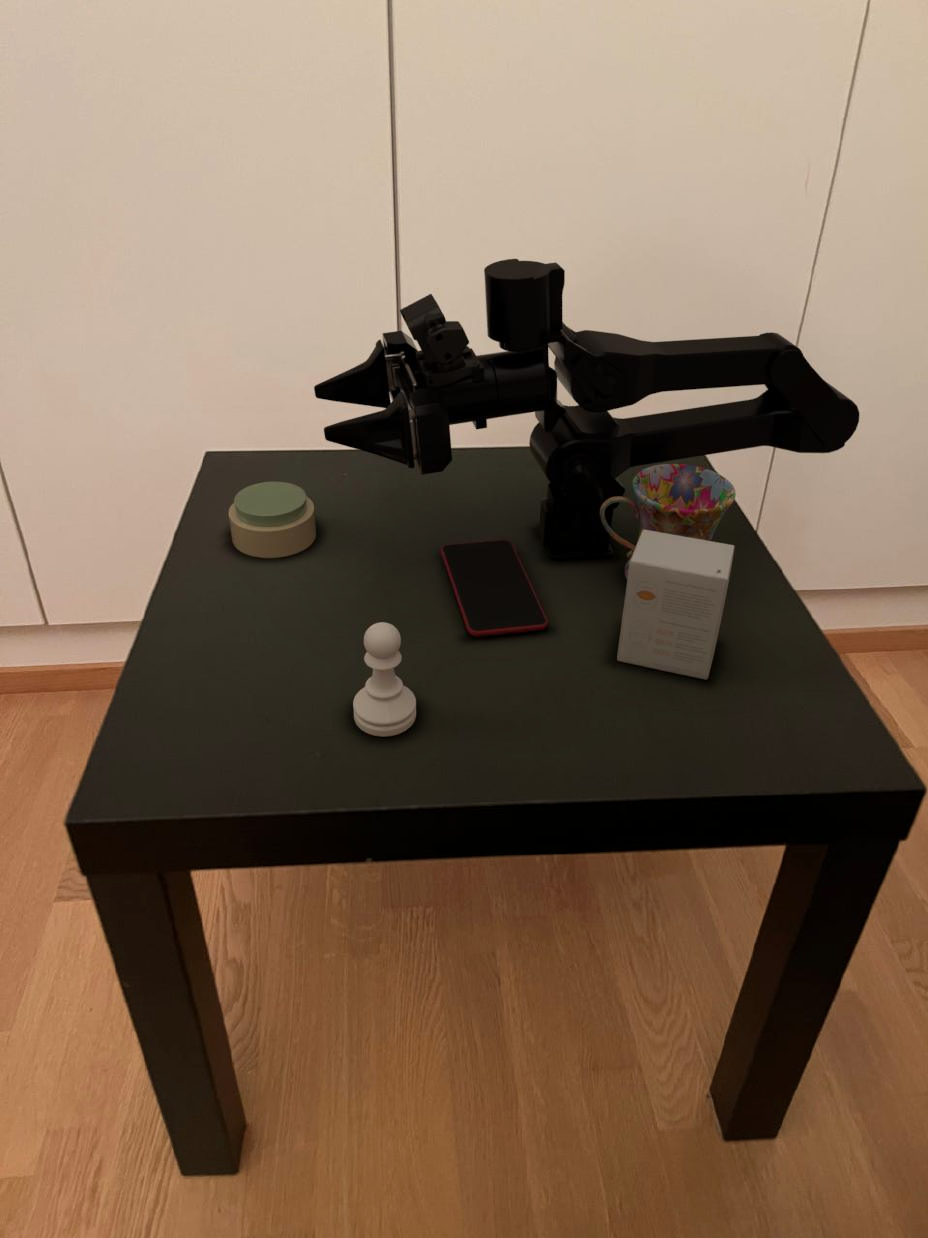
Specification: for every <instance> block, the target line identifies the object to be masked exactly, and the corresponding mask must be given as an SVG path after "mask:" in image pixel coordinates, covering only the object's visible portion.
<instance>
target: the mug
mask: <svg viewBox="0 0 928 1238" xmlns="http://www.w3.org/2000/svg"><path fill="white" fill-rule="evenodd" d="M631 487H632V490H633V493H634V496H635V500H636V503H635V502H634V501H633V500H631V499H630V498H628V497H626V496H623V497H621V496H617V497H612V498H609V499H608V500H606V501H605V502H604V503H603V504H602V506H601V508H600V518H601V521H602V524H603V525H604V527H605V529H606V530H607V532H608V533H609V534H610V537H611V538H613V540H615V541H616V542H618V543H619V544H620V545H622V546H623V547H625V548H628V549H629V551H628V552H626V557H627V559H628V560H627V562H626V564H625V566H624V576H625V579H626V580H627V579H628V572H629V564H630V560H631V557H632V555H633V552H634V550H635V547H636V545H635V544H633V543H632V542H630V541H628V540H626V539H624V538H623V537H621V536H620V535H618V534H617V533H616V532H615V531H614V530H613V529H612V527H611V528H610V527H609V525H608V523H607V522H606V519H605V516H604V512H605V509H606V508H607V507H608V506H609V505H610V504H612V503H616V502H620V503H623V504H626V505H628V506H629V507H630V508H632V510H633V512H634V515H635V519H636V520H639V531H638V539H637V541H638V540H639V537H640V535H641V532H642V530H650V531H655V532H661V533H667V534H672V535H678V536H684V537H689V538H695V539H701V540H707V541H712V540H713V537H714V534H715V531H716V529H717V527H718V525H719V523H720V521H721V520H722V518H723V516H724V515H725V513H726V512H727V511H728V509H729V508H730V507H731V506H732V504H733V503H734V501H735V500H736V489H735V487H734V485H733V484H732V483H731V482H730V480H728V478H726V477H725V476H723V475H721V474H720V473H718V472H715V471H713V470H710V469H708V468H705V467H701V466H698V465H692V464H685V463H661V464H656V465H651V466H648V467H645V468H643V469H641V470H640V471H639V472H637V473H636V474H635V475H634V476H633V478H632V481H631Z"/></svg>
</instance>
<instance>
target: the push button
mask: <svg viewBox="0 0 928 1238" xmlns="http://www.w3.org/2000/svg"><path fill="white" fill-rule="evenodd" d="M315 511H316V510H315V505H314V502H313V501H312V499H310V497H308V496H307V494H306V491H305V490H304V489H303V488H302V487H300V486H298V485H296V484H293V483H290V482H285V481H264V482H259V483H254V484H251V485H249V486H246V487H244V488H242V489H241V490H239V491H238V492H237V493H236V494H235V496H234V499H233V503H232V504H231V505H230V507H229V509H228V521H229V527H230V534H231V541H232V544H233V546H234V548H236V549H237V550H238V551H239V552H240V553H242V554H244V555H247V556H250V557H253V558H259V559H260V558H261V559H279V558H284V557H285V558H286V557H290V556H293V555H296V554H299V553H301V552H303V551H304V550H306V549H308V548H309V547H311V545H312V544H313V543H314V542H315V540H316V538H317V523H316V513H315Z"/></svg>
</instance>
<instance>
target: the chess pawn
mask: <svg viewBox="0 0 928 1238" xmlns="http://www.w3.org/2000/svg"><path fill="white" fill-rule="evenodd" d="M401 644H402V637H401V634H400V632H399V630H398V628H397V627H396V626H395V625H393V624H392V623H388V622H385V621H382V622H376V623H373V624H372V625H370V626H369V627H368V628H367V629H366V631H365V632H364V636H363V647H364V649H365V650H366V653H365V654H364V657H363V661H364V663H365V665H366V666H367V667H369V668H370V669H372V673H371V676H370V677H369V678H368V679H367V680H366V682H365V684H364V687H362V688H361V689H359V691H357V693H356V694H355V696H354V699H353V701H352V707H353V720H354V722H355V725H356V726H357V727H358V728H359V729H360V731H362V732H364V733H365V734H368V735H371V736H375V737H381V738H383V737H385V738H386V737H394V736H398V735H400V734H402V733H404V732H406V731H407V730H409V728H411V727H412V726H413V725H414V723H415V721H416V718H417V697H416V696H415V694H414V692H413V691H412V690H411V689H410V688H409V687H407V686H406V685H404V683H403V680H402V679H401V677H399V676H397V675H396V672H395V668H396V667H398V666H399V665H400V663H402V659H403V658H402V653H401V652H400V648H401Z"/></svg>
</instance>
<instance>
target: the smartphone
mask: <svg viewBox="0 0 928 1238" xmlns="http://www.w3.org/2000/svg"><path fill="white" fill-rule="evenodd" d="M440 553H441V557H442V559H443V562H444V565H445V568H446V572H447V574H448V577H449V579H450V584H451V586H452V588H453V592H454V595H455V597H456V598H455V599H456V601H457V603H458V606H459V609H460V612H461V615H462V618H463V621H464V624H465V627H466V630H467V632H468V634H469V635H471V636H473V637H475V638H479V637H490V636H499V635H507V634H509V635H510V634H519V633H527V632H537V631H543V630H544V629H545V628H546V627H547V626H548V618H547V616H546V614H545V612H544V610H543V608H542V606H541V603H540V601H539V598H538V596H537V594H536V592H535V590H534V588H533V586H532V583H531V581H530V579H529V577H528V574H527V572H526V571H525V568H524V566H523V563H522V562H521V560H520V557H519V555H518V553H517V551H516V549H515V546H514V544H513V542H512V541H510V540H507V539H495V540H484V541H483V540H482V541H472V542H460V543H449V544H444V545H443V546H442V547H441V548H440Z"/></svg>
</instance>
